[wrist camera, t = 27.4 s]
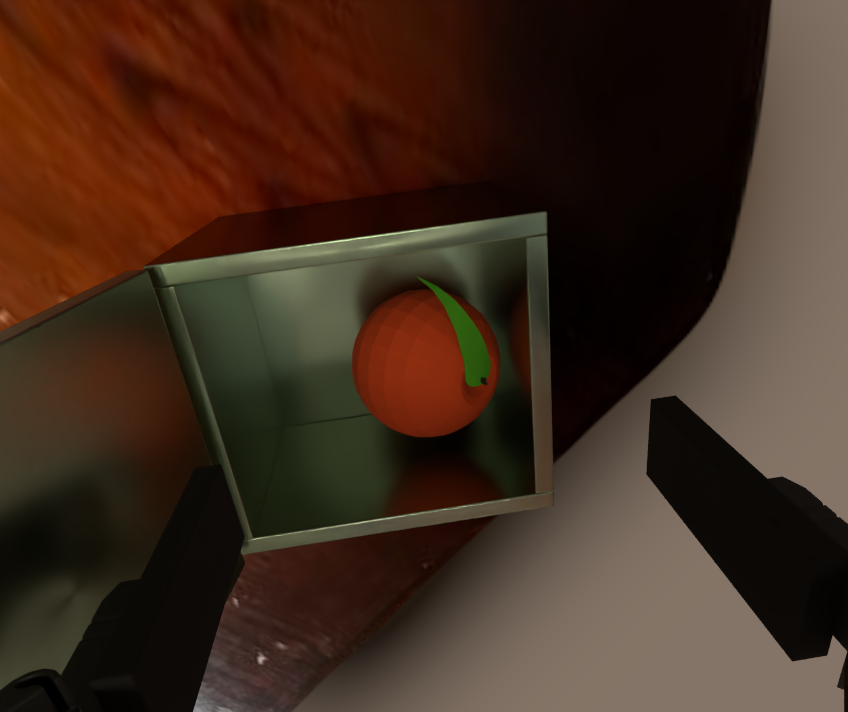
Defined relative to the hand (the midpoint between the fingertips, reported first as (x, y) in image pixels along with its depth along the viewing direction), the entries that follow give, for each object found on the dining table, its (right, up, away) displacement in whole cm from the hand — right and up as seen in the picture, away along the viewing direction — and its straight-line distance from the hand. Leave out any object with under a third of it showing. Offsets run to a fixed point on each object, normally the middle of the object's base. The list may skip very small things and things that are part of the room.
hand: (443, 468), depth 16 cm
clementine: (-3, +4, +11) cm, 13 cm away
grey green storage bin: (-3, +6, +13) cm, 15 cm away
